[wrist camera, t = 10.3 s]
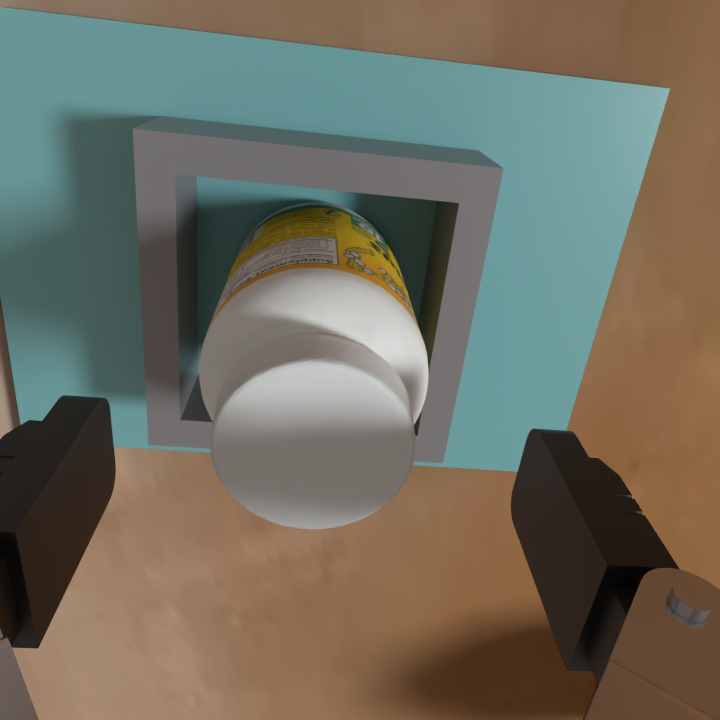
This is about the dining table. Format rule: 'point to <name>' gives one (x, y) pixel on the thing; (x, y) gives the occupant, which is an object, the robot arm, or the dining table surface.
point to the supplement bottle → (314, 370)
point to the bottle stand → (294, 186)
